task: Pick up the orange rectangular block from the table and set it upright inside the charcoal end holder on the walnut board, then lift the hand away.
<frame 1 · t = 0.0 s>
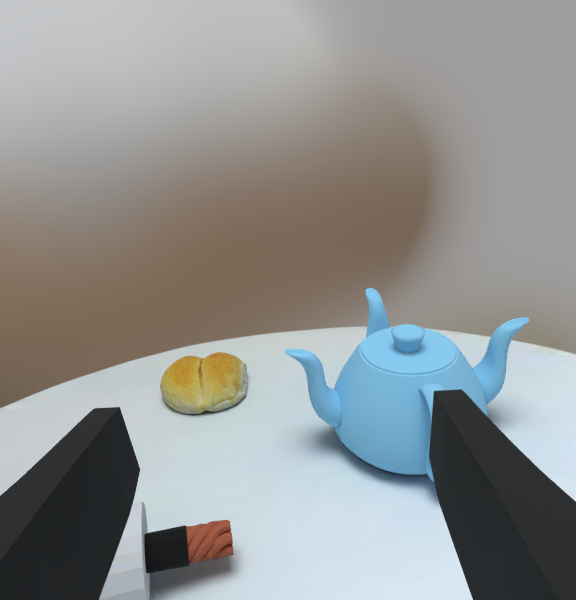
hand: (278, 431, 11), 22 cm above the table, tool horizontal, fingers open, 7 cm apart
bread roll: (208, 394, 52), on the table
teapot: (402, 426, 44), on the table
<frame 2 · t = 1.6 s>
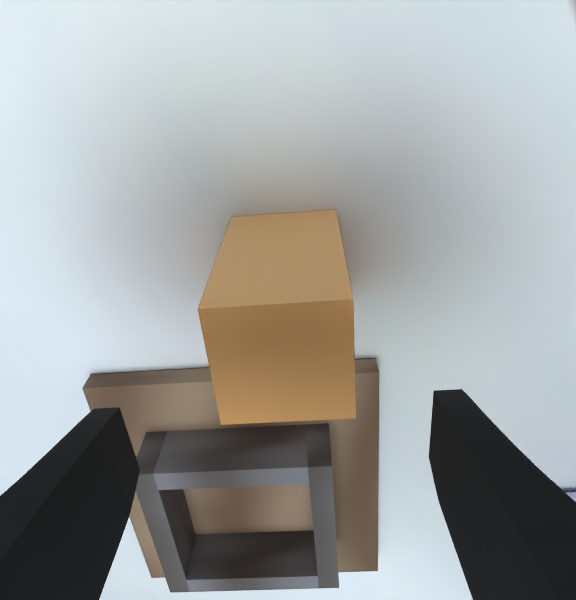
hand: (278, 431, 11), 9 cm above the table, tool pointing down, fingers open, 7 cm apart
holder: (249, 474, 26), on the table
orange rectangular block: (287, 260, 20), on the table
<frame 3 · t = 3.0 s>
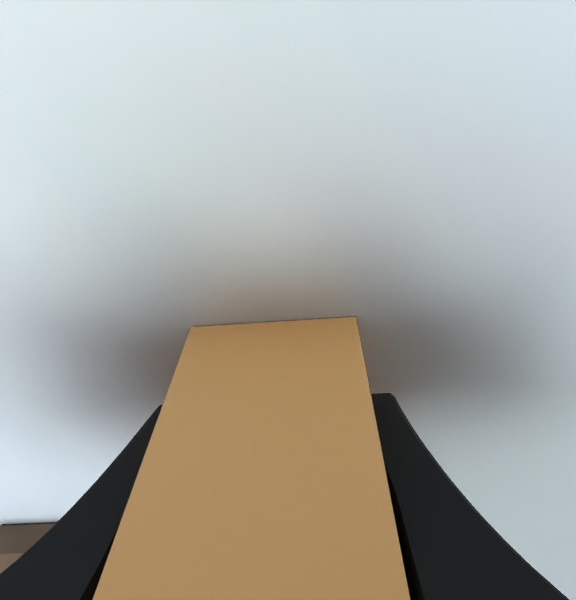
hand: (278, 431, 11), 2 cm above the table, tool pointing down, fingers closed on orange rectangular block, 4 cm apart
orange rectangular block: (280, 386, 13), on the table, touching gripper
when the fingers open (5 cm above the table, at t = 6.2 s): orange rectangular block drops 2 cm, resting on holder.
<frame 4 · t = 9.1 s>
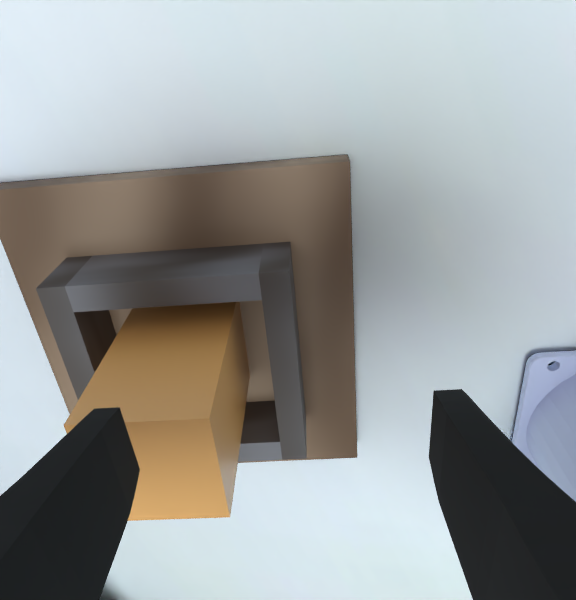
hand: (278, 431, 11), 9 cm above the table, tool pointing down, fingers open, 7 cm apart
holder: (201, 330, 21), on the table
orange rectangular block: (196, 338, 20), point 1 cm above the table, touching holder
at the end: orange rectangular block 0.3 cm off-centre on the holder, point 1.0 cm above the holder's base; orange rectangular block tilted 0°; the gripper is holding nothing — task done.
